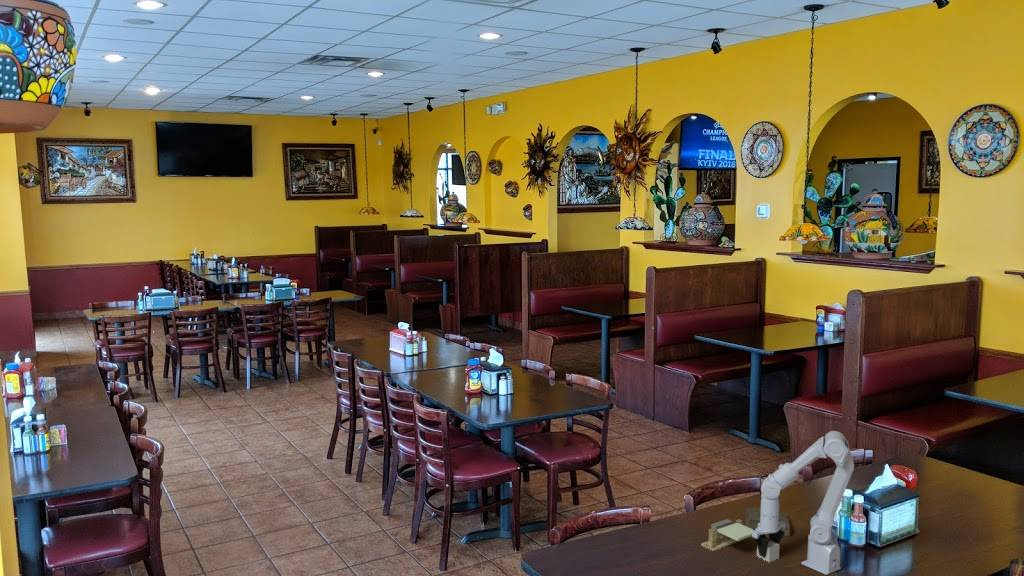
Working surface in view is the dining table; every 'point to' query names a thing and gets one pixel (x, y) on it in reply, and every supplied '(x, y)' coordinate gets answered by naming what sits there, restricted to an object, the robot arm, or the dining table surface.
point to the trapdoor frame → (719, 538)
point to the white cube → (770, 552)
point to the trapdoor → (733, 529)
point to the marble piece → (754, 519)
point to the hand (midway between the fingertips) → (767, 553)
